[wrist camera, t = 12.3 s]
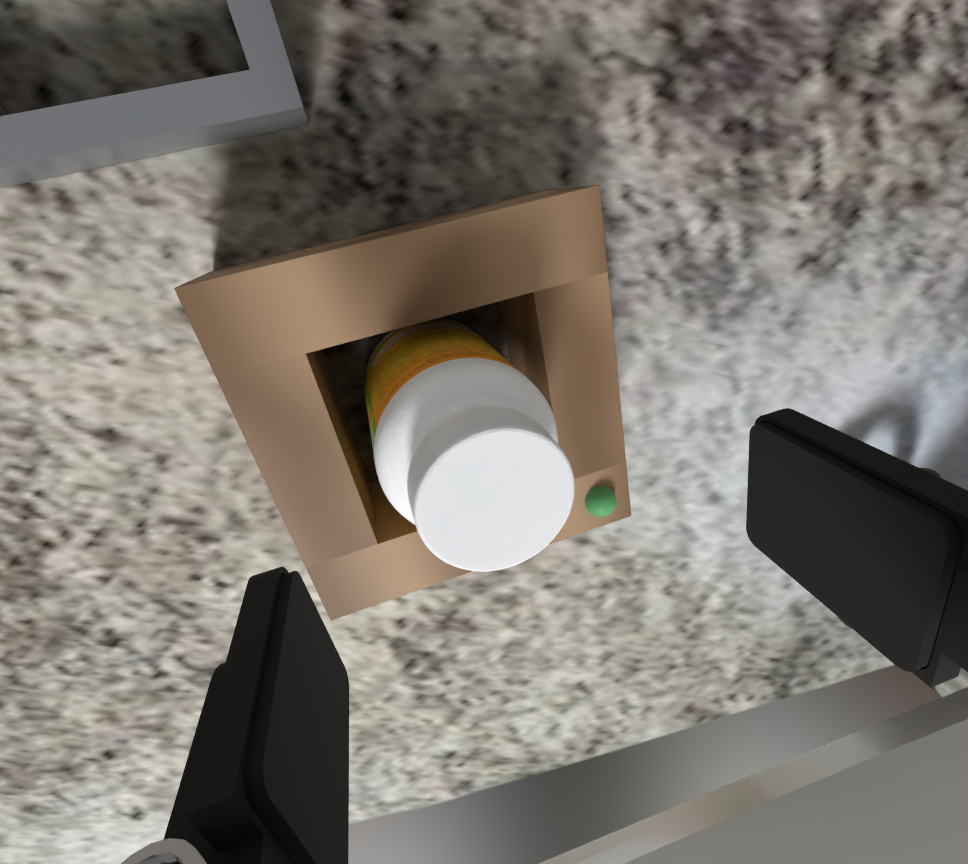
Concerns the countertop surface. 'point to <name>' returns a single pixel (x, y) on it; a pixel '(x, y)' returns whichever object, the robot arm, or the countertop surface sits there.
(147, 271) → the countertop surface
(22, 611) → the countertop surface
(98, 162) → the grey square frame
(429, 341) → the supplement bottle
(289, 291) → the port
